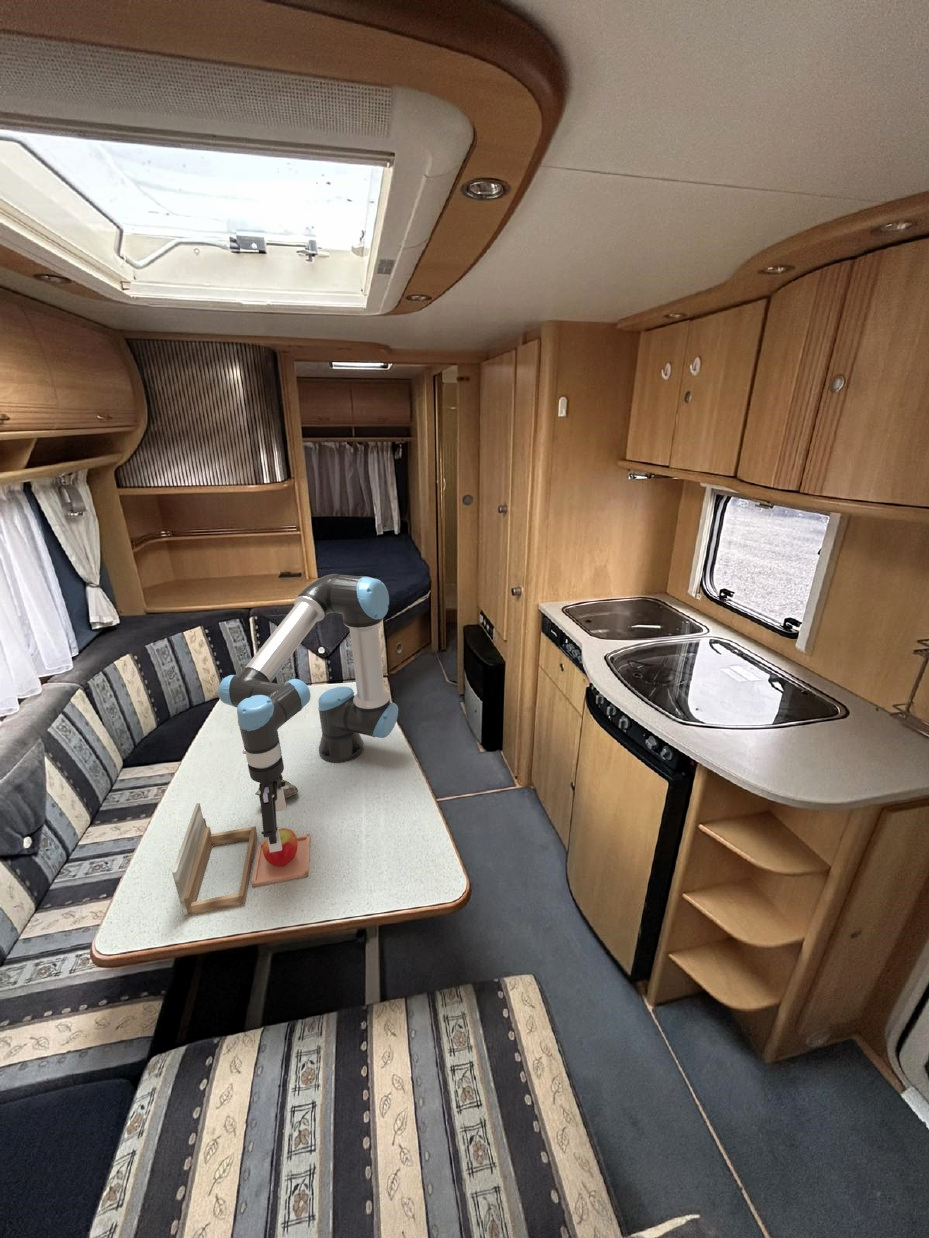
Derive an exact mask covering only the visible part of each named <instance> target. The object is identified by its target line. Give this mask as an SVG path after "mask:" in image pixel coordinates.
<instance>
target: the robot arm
mask: <svg viewBox="0 0 929 1238" xmlns="http://www.w3.org/2000/svg"><path fill="white" fill-rule="evenodd" d="M293 605H294V606H293V607H292V609H290V611H289V612H288V614H286V616H285V617H284V618H283V619H282V620H281V622H280V623H279V625H278V626H277V627H276V628H275V630H274V631H273V633H272V634H271V635H270V636H268V639H267V640H265V642H264V643H263V645H262V646H261V647H260V648H259V649H258V651H257V652H255V653H256V654H254V655H253V657H252V658H251V659H250V661H249V662H247V665H246V666H245V667H244V668H243V669H242V670H241V672H240V673H239V674H230V675H227V676H225V677H224V678H223V679H221V681H220V683H219V686H218V689H217V695H218V698H219V700H220V701H221V702H222V703H223V704H225V705H229V706H231V707H234V708H236V713H237V714H236V715H237V724H238V727H239V730H240V731H239V732H240V735H241V740H242V744H243V748H244V749H242V754H243V755H245V757H246V762H247V767H248V773H249V776H250V778H251V780H252V781H254V782H256V783H259V787H258V789H260V791H261V794H260V796H259V795H258V798H259V802H260V811H261V820H262V821H261V822H262V831H261V835H262V836H263V838H265V839H266V838H267V841H268V846H269V851H270V853H271V852H276V851H281V850H282V844H281V839H280V834H279V829H280V828H279V826H278V825H277V812H279V811H285V810H287V803H286V802H287V801H286V798H285V797H284V792H283V788H281V787H284V786H285V782H281V780H282V779H283V780H284V777H283V775H282V773H283V772H284V770H285V765H284V760H283V756H282V755H283V754H282V747H281V742H280V738H279V731H278V730H279V729H280V728H281V727H282V726H283V725H284V724H286V722H288V721H289V720H291V719H292V718H293V717H294V716H296V715H297V714H298V713H299V712H301V711H302V710H303V709H304V707H305V706H307V705H308V703H309V702H310V700H311V691H310V688H309V686H308V684H306V683H305V682H304V681H303V680H301V679H298V678H292V679H288V681H285V682H283V684H280V683H277V682H276V683H275V682H273V680H275V678H276V677H277V675H278V674H279V673H280V671H282V668H284V666H285V664H286V663H287V662H288V661H289V659H290V658H291V656H292V655H293V654H294V653H295V651H296V650H297V649H298V647H299V646H300V644H301V643H302V642H303V640H304V639H305V638H306V636H307V635H308V634H309V632H310V631H311V630H312V628H313V627H314V626H315V624H316V623H317V622H320V621H323V620H324V618H325V617H326V616H327V615H328V614H333V613H335V614H339V615H342V620H343V621H342V622H343V624H344V626H345V627H347V628H349V635H350V645H351V654H352V661H353V670H354V678H355V684H356V686H355V687H356V694H355V692H354V689H353V688H351V687H350V686H337V687H333V688H330V689H328V690H326V691H324V692H323V693H321V695H320V696H319V698H318V713H319V720H320V726H321V728H320V729H321V738H320V742H319V745H318V755H319V757H320V758H321V759H322V760H323V761H325V762H327V763H329V764H343V763H347V762H350V761H351V762H352V761H353V760H356V759H357V758H358V757H360V756H361V755H362V754H363V752H364V749H365V747H364V745H365V743H364V740H363V738H362V736H361V735H365V736H369V737H373V738H380V739H385V738H387V737H388V736H389V735H391V733H392V731H393V730H394V728H395V726H396V723H397V720H398V716H399V706H398V704H396V703H395V702H391V696H390V694H389V692H388V691H387V690H385V682H384V674H383V673H384V672H383V661H382V653H381V651H382V650H381V641H380V628H379V625H380V624H381V623H382V622H383V621H384V617H386V615H387V614H388V611H389V605H390V596H389V591H388V588H387V586H386V584H384V582H383V581H381V580H380V579H378V578H373V577H370V576H357V575H349V574H341V573H331V574H327V575H324V576H322V577H319V578H318V579H316V580H315V581H313V582H311V583H310V584H309V585H307V586H306V587H305V588H304V589H303V590H302V591H301V592H300V593H299V594H298V595H297V597H296V598H295V599H294V602H293Z"/></svg>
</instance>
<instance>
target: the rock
mask: <svg viewBox="0 0 929 1238" xmlns="http://www.w3.org/2000/svg"><path fill="white" fill-rule="evenodd" d="M281 782H285V786H284V787H281V788H283V792H284V797H285V799H287V798H288V799H289V798H291V797H292V796H295V795H297V794H298V793H299V789H298V787H296V786H295V785H294V784H293V783H291V782H289V781H288V780H284V778H283V779H282V780H281ZM260 794H261V791H260V789H259V788H258V789H257V791H256V792H255V796H258V797H259V796H260Z"/></svg>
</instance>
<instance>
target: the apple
mask: <svg viewBox="0 0 929 1238" xmlns="http://www.w3.org/2000/svg"><path fill="white" fill-rule="evenodd" d="M278 829H279V834H280V839H281V844H282V850H281V851H276V852H271V853H270V851H269V846H268V841H267V837H265V840H264V841H263V842H264V843H263V854H264V857H265V859H266V860H267V862H268V863H270V864H271V865H274V866H284V865H286V864H288V863H289V862H290V861H292V859H293V858H294V857H295V855H296V852H297V848H298V842H297V838H296V836H297V835H296V833H295V832H294V831H293V830H292V829H289V828H286V827H285V828H284V827H283V828H278Z"/></svg>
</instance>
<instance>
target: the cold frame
mask: <svg viewBox="0 0 929 1238" xmlns="http://www.w3.org/2000/svg"><path fill="white" fill-rule="evenodd" d="M203 815H204V814H203V811H202V807H201V803H200V802H196V803H195V806H194V809H193V811H192V815H191V818H190V820H189V822H188V826H187V828H186V832H185V834H184V837H183V840H182V843H181V846H180V849H179V850H178V851H179V852H178V855H177V858H176V860H175V863H174V866H173V868H172V871H171V874H172V878H173V881H174V886H175V887H176V892H177V895H178V898H179V902H180V904H181V908H182V912H183V916H188V915H189V916H190V915H194V914H201V913H204V912H210V911H215V910H219V909H224V908H225V909H226V908H229V907H235V906H240V905H241V906H242V905H245V903H246V900H247V894H248V888H249V882H250V877H251V871H252V868H253V861H254V857H255V850H256V845H257V840H258V832H257V831H258V830H257V826H255V825H254V826H250V827H244V828H239V829H232V830H226V831H220V832H215V833H212V831H211V827H210V826H207V821H206V818H204V816H203ZM244 841H248V845H247V849H246V854H245V860H244V864H243V871H242V876H241V881H240V885H239V891H238V892H236V893H232V894H227V895H222V896H221V895H220V896H216V897H211V898H207V899H201V900H198V897H199V894H200V890H201V887H202V884H203V881H204V878H205V877H204V876H205V873H206V870H207V867H208V863H209V860H210V857H211V853H212V850H213V847H214V846H213V845H215V846H218V845H219V846H220V844H221V845H226V844H225V843H227V844H231V843H230V842H233V843H238V842H244ZM212 846H213V847H212Z"/></svg>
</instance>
